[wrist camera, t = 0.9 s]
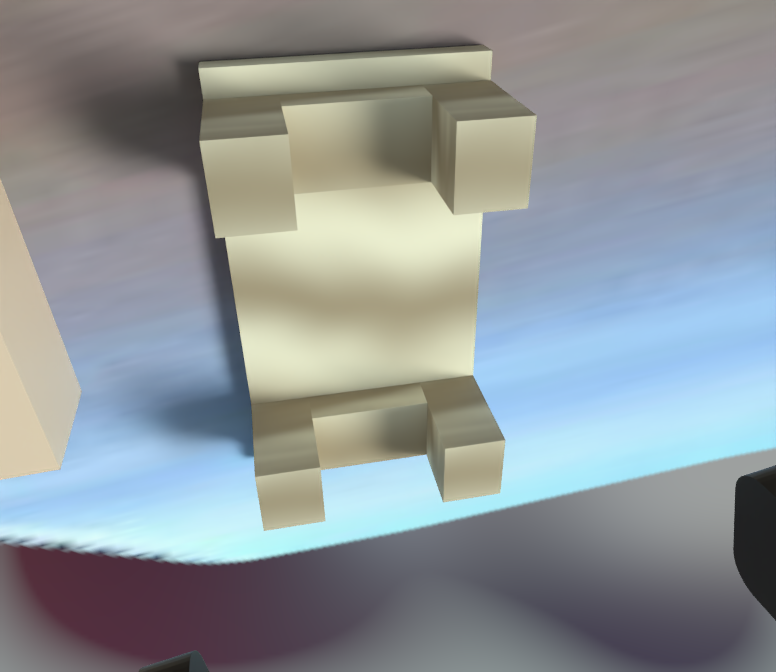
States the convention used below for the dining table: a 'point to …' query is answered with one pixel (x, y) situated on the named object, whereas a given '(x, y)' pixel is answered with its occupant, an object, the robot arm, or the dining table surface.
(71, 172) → the dining table surface
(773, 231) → the dining table surface
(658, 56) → the dining table surface
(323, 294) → the rack
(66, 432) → the clay bar
